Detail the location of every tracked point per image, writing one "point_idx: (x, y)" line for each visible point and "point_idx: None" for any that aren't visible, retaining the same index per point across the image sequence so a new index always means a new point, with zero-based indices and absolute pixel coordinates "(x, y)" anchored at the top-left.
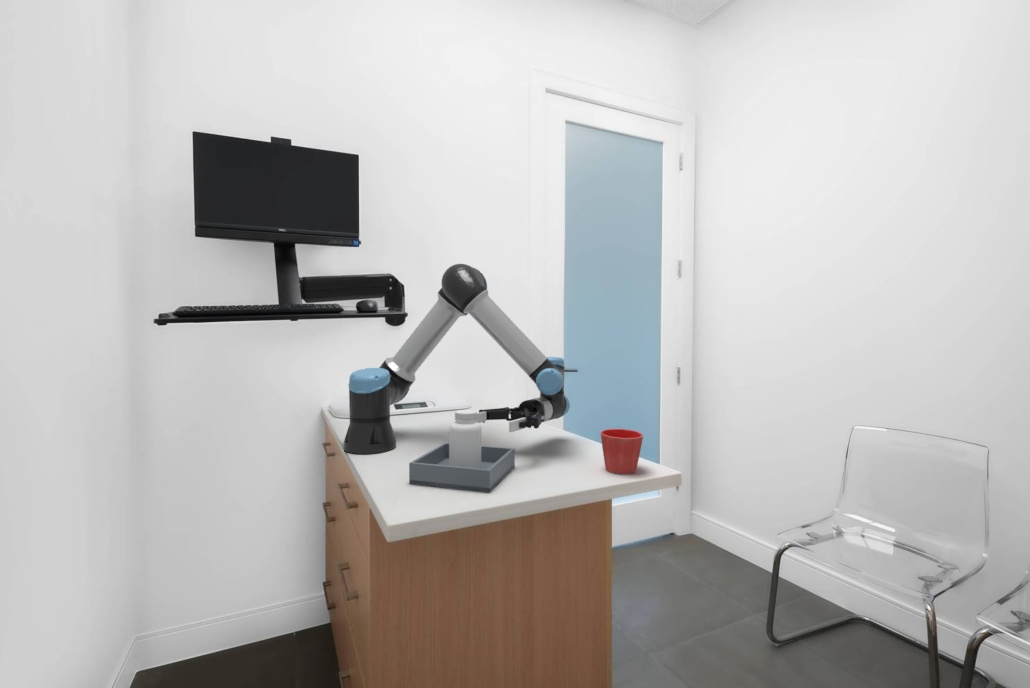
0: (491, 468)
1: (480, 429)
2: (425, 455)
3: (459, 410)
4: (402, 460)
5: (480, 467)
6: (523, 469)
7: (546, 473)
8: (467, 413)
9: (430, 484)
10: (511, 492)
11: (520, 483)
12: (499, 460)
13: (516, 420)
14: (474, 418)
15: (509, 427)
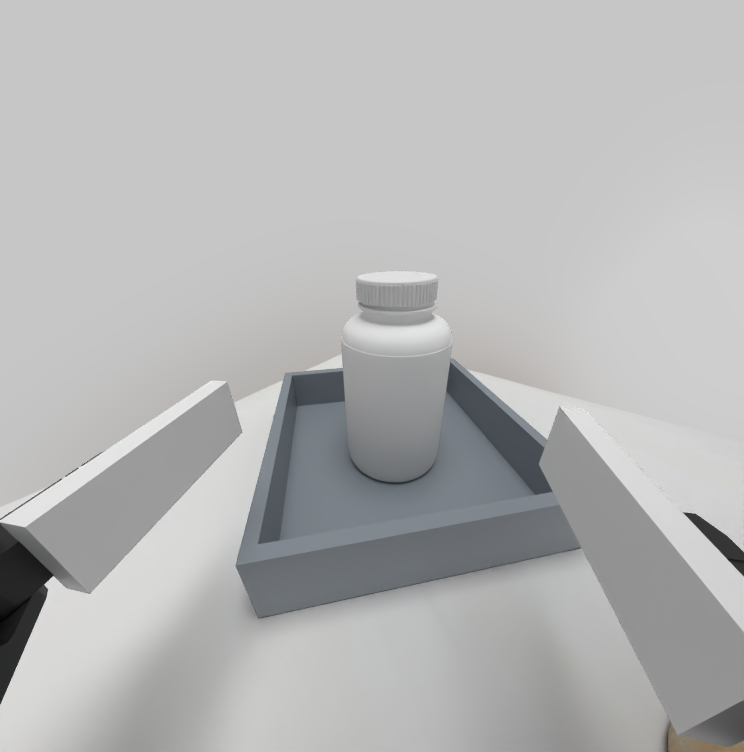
0: (285, 379)
1: (341, 342)
2: (477, 386)
3: (431, 276)
4: (666, 484)
5: (348, 447)
6: (211, 606)
7: (99, 599)
8: (371, 273)
9: None
10: (248, 423)
11: (227, 467)
12: (279, 415)
13: (168, 410)
14: (363, 303)
15: (233, 411)
